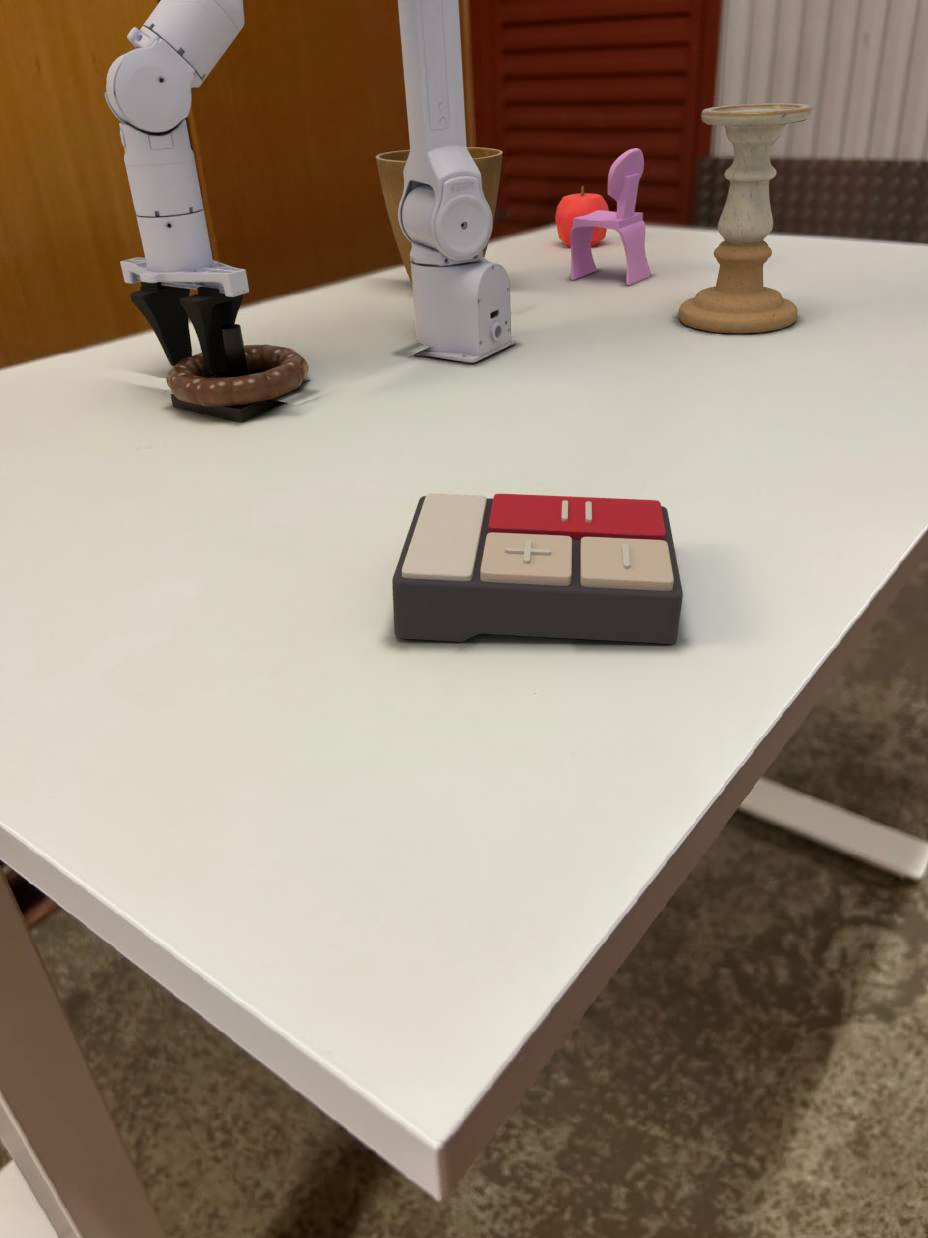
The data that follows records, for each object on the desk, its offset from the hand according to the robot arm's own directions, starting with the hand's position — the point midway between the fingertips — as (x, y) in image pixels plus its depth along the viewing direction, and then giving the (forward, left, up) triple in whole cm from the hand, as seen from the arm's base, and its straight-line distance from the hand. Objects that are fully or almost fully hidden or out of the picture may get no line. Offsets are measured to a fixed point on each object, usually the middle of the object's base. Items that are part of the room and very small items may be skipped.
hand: (200, 367), depth 90 cm
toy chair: (-13, -57, -2) cm, 59 cm away
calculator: (-47, +17, -2) cm, 50 cm away
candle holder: (-35, -44, -2) cm, 56 cm away
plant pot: (+2, -42, -2) cm, 42 cm away
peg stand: (-5, 0, -2) cm, 6 cm away
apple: (+1, -75, -2) cm, 75 cm away
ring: (-5, 0, 0) cm, 5 cm away
